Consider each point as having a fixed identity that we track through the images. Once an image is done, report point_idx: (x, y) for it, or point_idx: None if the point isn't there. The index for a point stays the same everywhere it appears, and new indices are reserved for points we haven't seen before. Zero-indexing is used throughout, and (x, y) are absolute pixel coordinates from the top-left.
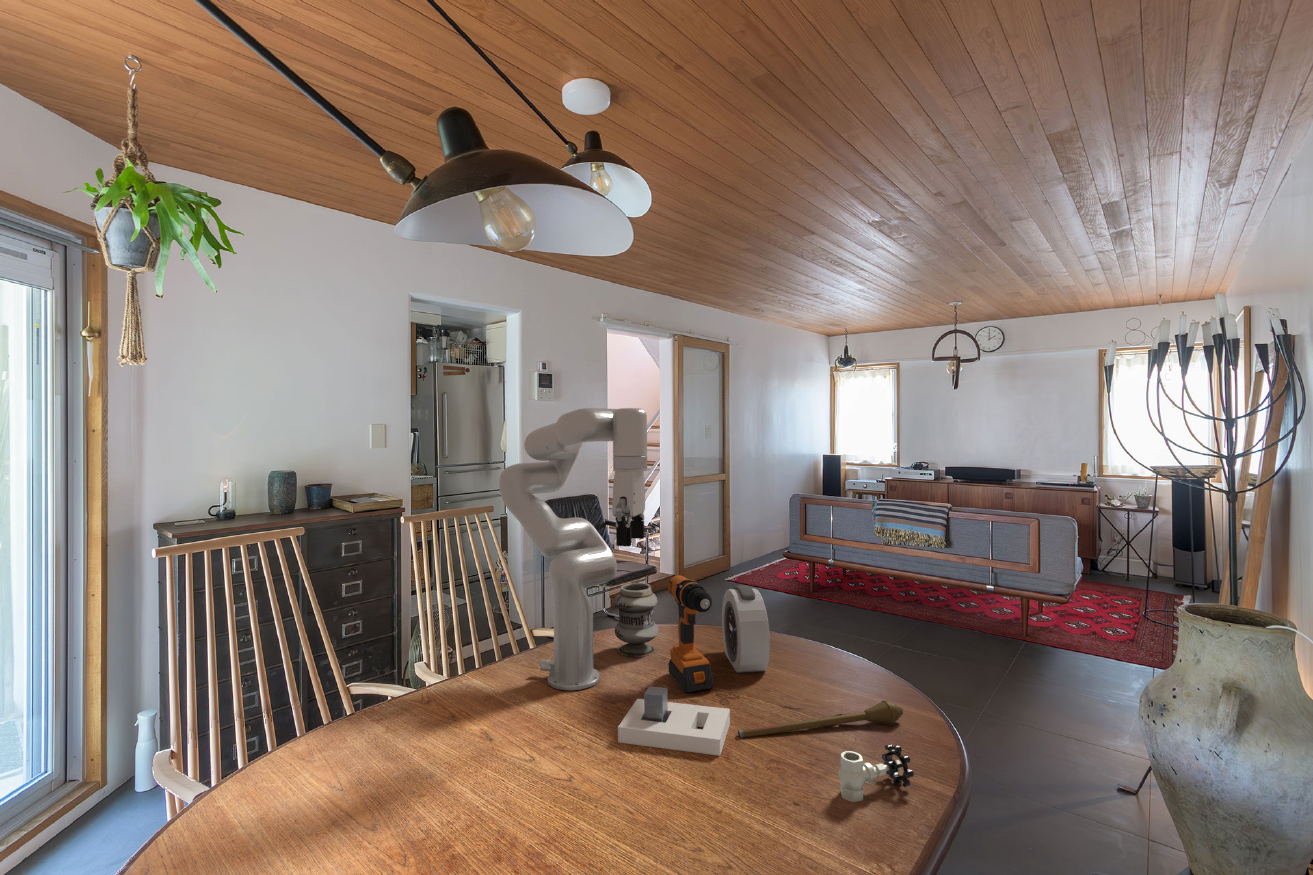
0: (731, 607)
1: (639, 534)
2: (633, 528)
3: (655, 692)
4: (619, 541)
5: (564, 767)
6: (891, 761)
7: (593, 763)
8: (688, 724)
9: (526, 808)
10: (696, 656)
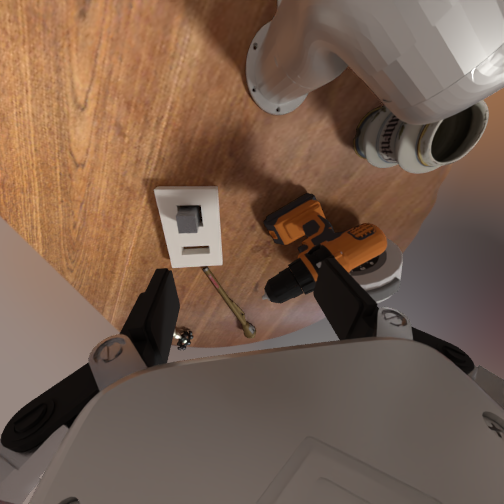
0: (362, 271)
1: (320, 294)
2: (337, 292)
3: (183, 225)
4: (141, 293)
5: (91, 151)
6: (181, 341)
7: (113, 176)
8: (185, 244)
9: (12, 143)
10: (290, 235)
